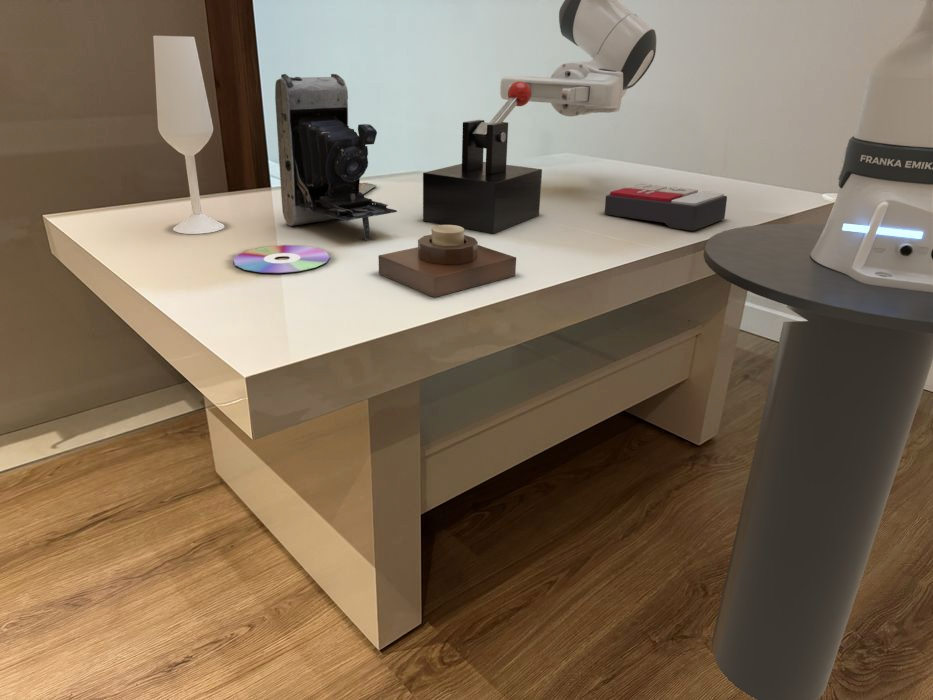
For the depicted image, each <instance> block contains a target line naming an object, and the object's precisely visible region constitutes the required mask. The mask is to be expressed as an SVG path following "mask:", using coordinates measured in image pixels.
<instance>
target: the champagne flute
mask: <svg viewBox="0 0 933 700" xmlns="http://www.w3.org/2000/svg"><path fill="white" fill-rule="evenodd" d="M152 40H153V60H154V77H155V95H156V97H155V99H156V116H157V117H156V118H157V130H158V132H159V134H160V136H161V137H162V138H163V140H164V141H165V142H166V143H167V144H168V145H169V146H171V148H173V149H174V150H175V151H177V152H178V153H180V154H182V156H183V155H184V159H185V167H186V174H187V175H186V176H187V182H188V183H187V184H188V190H189V197H190V205H191V211H192V214H190V215H189V216H188V217H186V218H185V219H184V220H182V221H180V223H178V224H177V225H175V226H174V227H173V229H172V230H173V232H176V233H179V234H184V235H185V234H187V235H200V234H210V233H214V232H219V231H221V230H224V228H225V224H223V223H221V222H219V221H217V220H216V219H213V218H212V217H210V216H208V215H205V214H204V213H203V212H202V204H201V195H200V189H199V182H198V181H199V179H198V172H197V167H196V166H197V165H196V157H195V155H196V154H198V153H199V152H201V150H203V148H205V146H206V145H207V144H208V142H209V141H210V139H211V137H212V136H213V133H214V124H213V120H212V114H211V110H210V106H209V105H210V104H209V101H208V96H207V91H206V86H205V81H204V77H203V71H202V66H201V62H200V58H199V57H200V56H199V52H198V48H197V44H196V38H195V36H183V35H181V36H179V35H153V36H152Z"/></svg>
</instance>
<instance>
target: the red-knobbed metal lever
mask: <svg viewBox="0 0 933 700" xmlns="http://www.w3.org/2000/svg"><path fill="white" fill-rule="evenodd" d="M530 98H531V89H530V87H529V85H528V84H527V83H525V82H523V81H517V82H514V83H513V84H512V85H511V86H510V87H509V89H508V99H509V100H506V102H504V104H503V106H502V107H500V109H499V110H498V112H496V114H495V115H494V116H493V118H492V119H491V120H490V121H489V122H486V121H484V122H481V123H480V125H479V126H478V127H477V128H476V129H475V131H474V132H473V137H474V141H475V145H476V147H477V148H484V149H486V143H487V125H488V124H494V123H500V122H505V120H506V119H507V117H508V116H509V115H510V114H511V112H513V110H514V109H515V107H523V106H525V105H527V104H528V103H530V101H529V100H530Z"/></svg>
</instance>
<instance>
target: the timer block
mask: <svg viewBox="0 0 933 700" xmlns="http://www.w3.org/2000/svg"><path fill="white" fill-rule="evenodd" d="M478 243H479V242H478V240H477V239H476V238H475V237H472V236H470V235H466V234H464V244H462V245H458V246H441V245H435V244H432V233H431V234H427V235H426V234H425V235H423V236H422V237H420V238H419V239H418V240H417V247H412V248H407V249H403V250H397V251H393V252H388V253H384V254H379V255H378V256H377V257H378V275H381V276H382V277H385V278H388V279H390V280H392V281H394V282H397V283H399V284H402V285H404V286H405V287H408V288H411V289H414V290H415V291H419V292H421V293H422V294H425V295H427V296H430V297H433V298H438V297H441V296H446V295H449V294H452V293H453V294H454V293H456V292H459V291H463V290H467V289H471V288H474V287H479V286H482V285H486V284H489V283H493V282H497V281H500V280H504V279H508V278H511V277H515V276H516V272H517V271H516V269H517V257H516V256H513V255H510V254H507V253H505V252H501V251H498V250H495V249H491V248H489V247H486V246H482V245H479V244H478Z"/></svg>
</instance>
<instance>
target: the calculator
mask: <svg viewBox="0 0 933 700" xmlns="http://www.w3.org/2000/svg"><path fill="white" fill-rule="evenodd" d="M727 201H728V195H724V193H721V192H712V191H711V192H710V191H699V189H696V188H695V189H694V188H686V187H685V188H684V187H677V186H669V187H668V186H666V185H658V184H647V183H639V184H636V185H631V186H628V187H624V188H620V189H615V190H612V191H609V194H607V195H605V201H604V215H606V216H612V217H613V216H614V217H621V218H628V219H635V220H643V221H648V222H657V223H663V224H665V225H666V226H667V227H668V228H670V229H678V230H682V231H683V230H684V231H690V232H694V231H696V230H700V229H703V228H705V227H707V226H710V225H712V224H715V223H718V222H720V221H723V220H725V219H726V210H727Z"/></svg>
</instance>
